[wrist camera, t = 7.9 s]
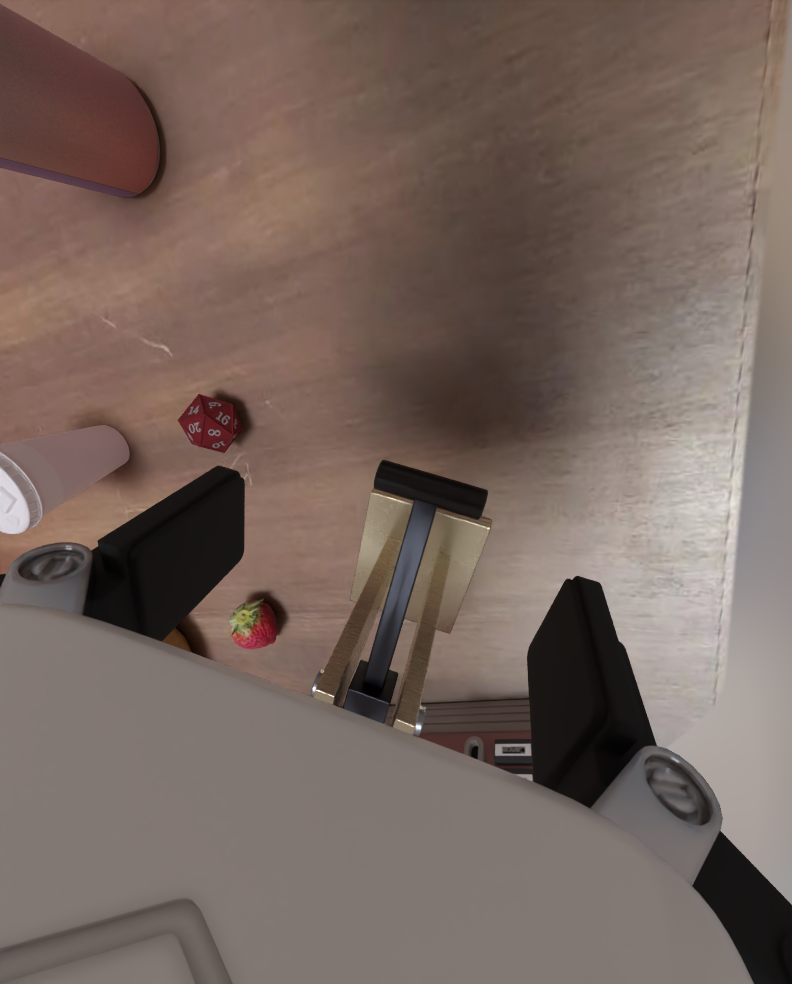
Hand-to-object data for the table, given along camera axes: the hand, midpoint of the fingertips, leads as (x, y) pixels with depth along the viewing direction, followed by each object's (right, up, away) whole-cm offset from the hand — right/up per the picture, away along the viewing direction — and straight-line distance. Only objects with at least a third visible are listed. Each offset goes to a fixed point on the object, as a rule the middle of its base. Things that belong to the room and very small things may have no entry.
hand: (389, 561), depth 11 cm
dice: (-13, +8, +20) cm, 25 cm away
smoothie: (-25, +6, +24) cm, 35 cm away
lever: (0, -4, +10) cm, 10 cm away
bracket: (+2, -3, +21) cm, 22 cm away
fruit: (-12, -10, +29) cm, 33 cm away
